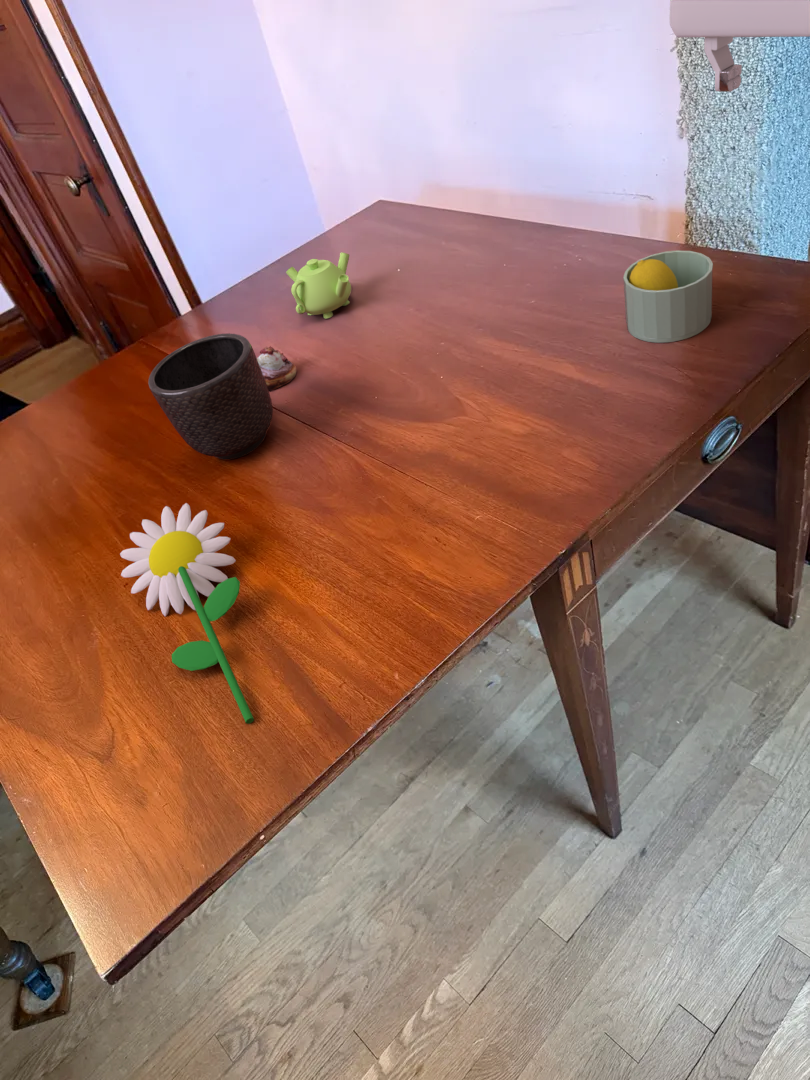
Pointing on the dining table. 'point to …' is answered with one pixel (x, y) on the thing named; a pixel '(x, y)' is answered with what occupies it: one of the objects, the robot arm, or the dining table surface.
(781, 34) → the robot arm
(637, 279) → the lemon
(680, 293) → the cup
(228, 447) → the planter
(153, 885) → the dining table surface
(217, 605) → the decorative flower
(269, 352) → the pastry
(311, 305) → the teapot
